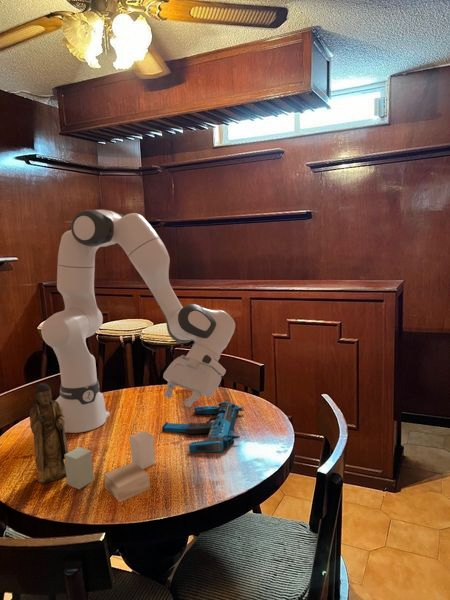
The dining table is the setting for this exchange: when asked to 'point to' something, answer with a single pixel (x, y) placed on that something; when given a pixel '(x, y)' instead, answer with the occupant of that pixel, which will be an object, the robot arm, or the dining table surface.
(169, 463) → the dining table surface
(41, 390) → the statue
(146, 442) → the cream pillar
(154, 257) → the robot arm
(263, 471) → the dining table surface
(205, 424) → the submachine gun
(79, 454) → the sage pillar
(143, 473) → the birch slab
